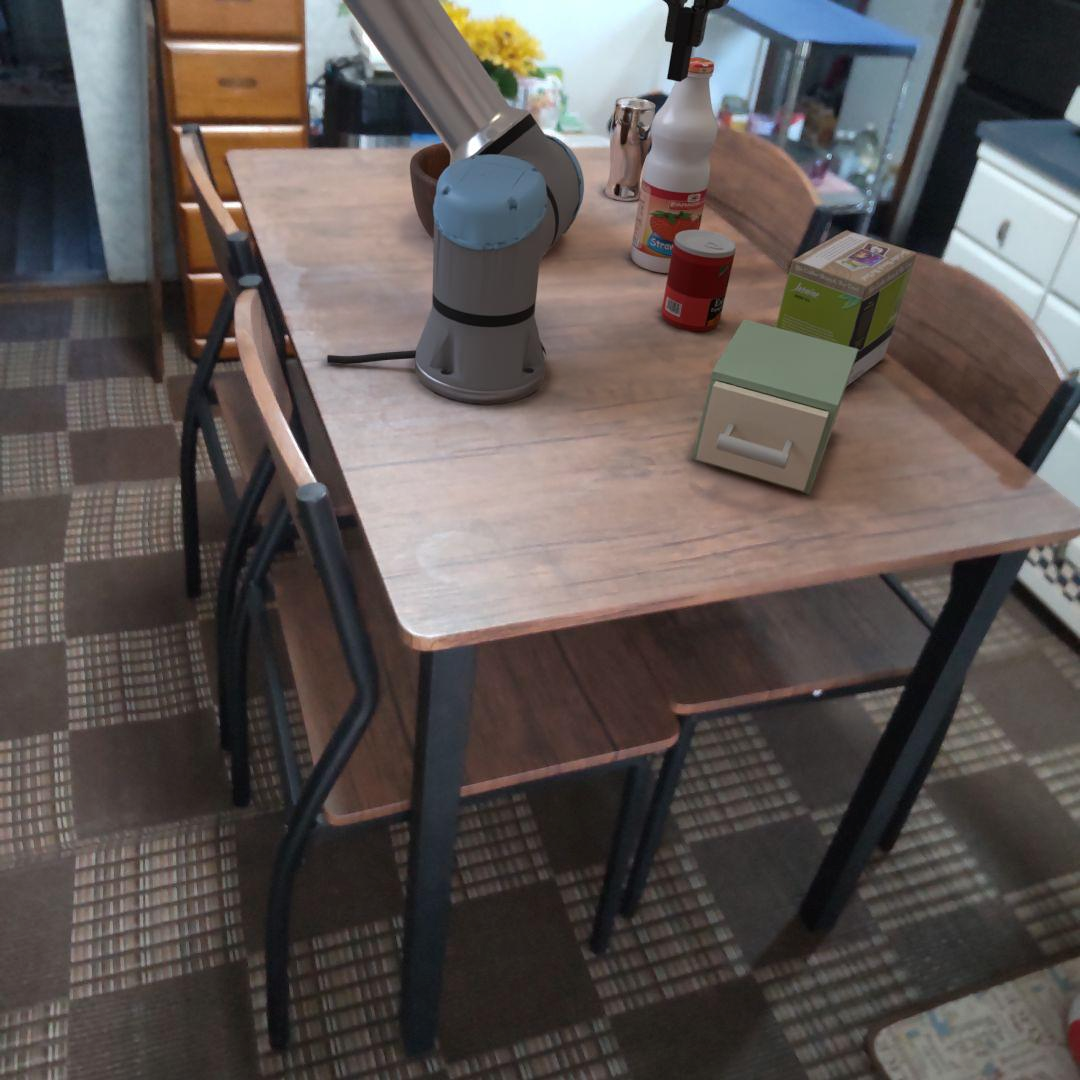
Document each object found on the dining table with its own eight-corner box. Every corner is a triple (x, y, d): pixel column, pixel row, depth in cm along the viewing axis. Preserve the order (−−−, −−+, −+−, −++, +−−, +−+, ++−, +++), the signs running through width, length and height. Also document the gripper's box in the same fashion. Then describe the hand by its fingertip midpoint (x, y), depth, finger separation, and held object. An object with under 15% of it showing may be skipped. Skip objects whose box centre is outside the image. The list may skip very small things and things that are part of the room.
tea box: (816, 332, 135) (847, 226, 126) (885, 360, 130) (922, 251, 121) (762, 368, 125) (791, 255, 116) (834, 399, 121) (870, 284, 112)
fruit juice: (670, 246, 154) (706, 51, 137) (704, 271, 148) (745, 69, 131) (618, 252, 151) (648, 51, 133) (650, 277, 144) (686, 70, 127)
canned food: (717, 336, 131) (735, 256, 124) (657, 326, 132) (671, 246, 125) (720, 312, 137) (738, 235, 130) (663, 302, 138) (677, 225, 131)
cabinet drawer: (795, 513, 99) (819, 438, 94) (684, 479, 102) (701, 404, 97) (824, 434, 112) (847, 364, 106) (725, 406, 115) (742, 336, 109)
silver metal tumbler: (596, 188, 172) (608, 96, 163) (633, 187, 174) (647, 97, 165) (610, 202, 167) (623, 109, 158) (648, 202, 169) (663, 109, 160)
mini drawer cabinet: (809, 494, 104) (838, 405, 97) (692, 459, 107) (712, 370, 100) (831, 433, 114) (858, 348, 108) (723, 403, 117) (743, 319, 111)
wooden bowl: (560, 279, 141) (569, 207, 134) (389, 252, 142) (389, 180, 136) (583, 218, 160) (591, 153, 154) (431, 195, 162) (433, 129, 156)
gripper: (801, -190, 92) (745, 82, 106) (667, -207, 95) (630, 60, 110) (785, -190, 86) (728, 97, 101) (643, -208, 89) (607, 73, 104)
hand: (677, 77), depth 105 cm, fingers closed
